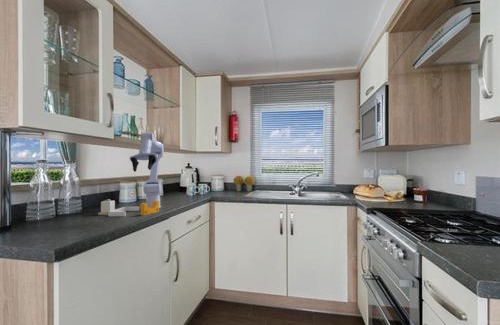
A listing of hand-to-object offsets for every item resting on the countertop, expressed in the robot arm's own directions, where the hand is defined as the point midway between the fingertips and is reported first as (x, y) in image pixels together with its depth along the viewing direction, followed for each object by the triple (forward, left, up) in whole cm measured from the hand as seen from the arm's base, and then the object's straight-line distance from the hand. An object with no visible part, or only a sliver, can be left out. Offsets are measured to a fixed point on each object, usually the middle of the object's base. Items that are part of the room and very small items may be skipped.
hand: (141, 169), depth 131 cm
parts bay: (-11, -14, -25) cm, 30 cm away
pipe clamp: (-11, -1, -25) cm, 27 cm away
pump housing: (-11, -24, -25) cm, 36 cm away
